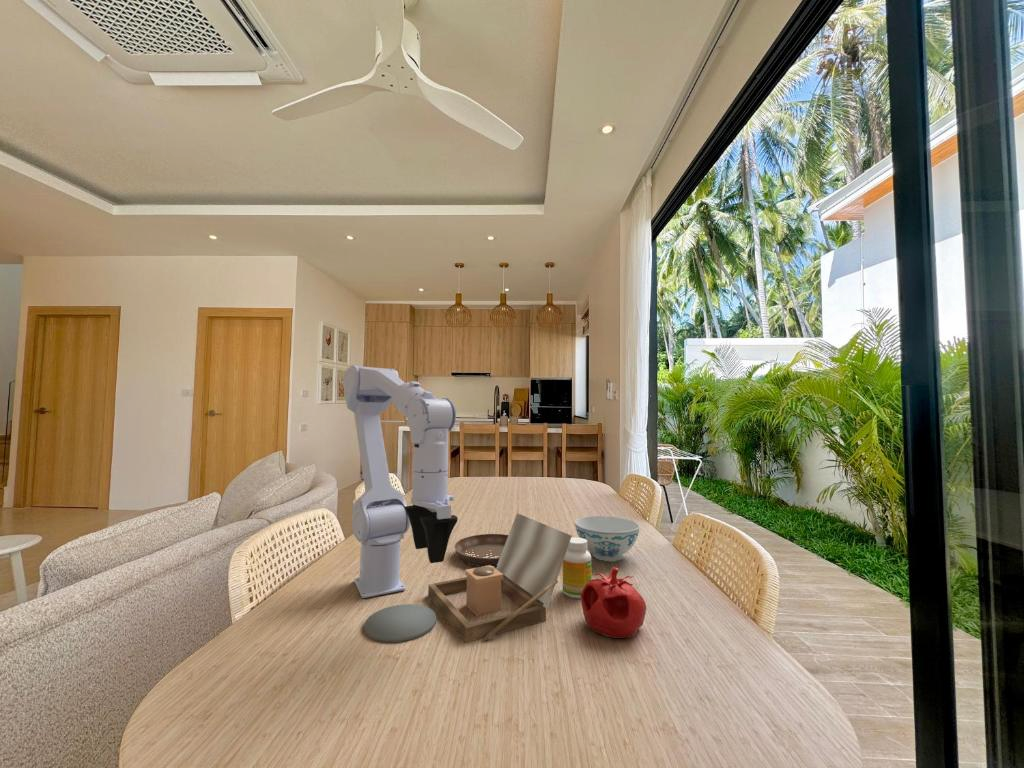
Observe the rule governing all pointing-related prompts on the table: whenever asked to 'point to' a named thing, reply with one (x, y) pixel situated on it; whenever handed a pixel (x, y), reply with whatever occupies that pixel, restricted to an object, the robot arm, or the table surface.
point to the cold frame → (513, 579)
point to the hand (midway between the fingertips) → (428, 554)
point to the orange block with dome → (483, 589)
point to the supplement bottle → (576, 567)
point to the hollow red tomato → (613, 606)
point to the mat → (400, 623)
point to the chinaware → (607, 535)
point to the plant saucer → (481, 548)
